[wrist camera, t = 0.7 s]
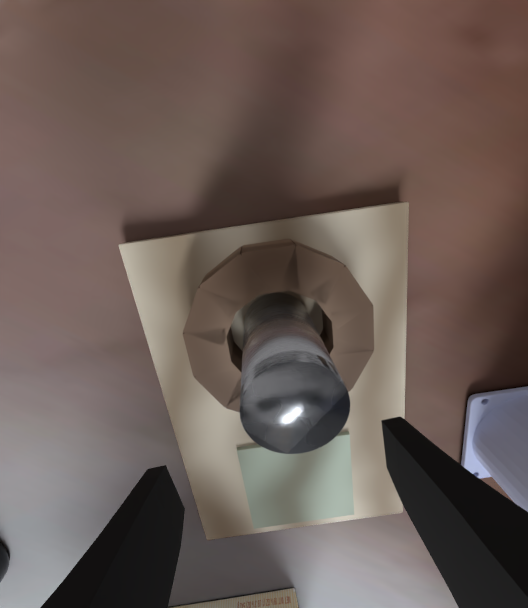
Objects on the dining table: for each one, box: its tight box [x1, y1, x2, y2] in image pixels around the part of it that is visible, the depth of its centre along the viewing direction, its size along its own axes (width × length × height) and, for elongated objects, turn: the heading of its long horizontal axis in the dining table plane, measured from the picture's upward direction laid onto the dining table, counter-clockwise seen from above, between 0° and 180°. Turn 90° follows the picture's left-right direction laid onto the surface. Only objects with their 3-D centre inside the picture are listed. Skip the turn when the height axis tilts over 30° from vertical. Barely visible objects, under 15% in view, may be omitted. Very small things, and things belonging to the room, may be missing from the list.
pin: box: [240, 293, 350, 454], centre depth 15 cm, size 4×4×8 cm
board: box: [119, 202, 409, 540], centre depth 20 cm, size 16×24×4 cm, turn 8°
